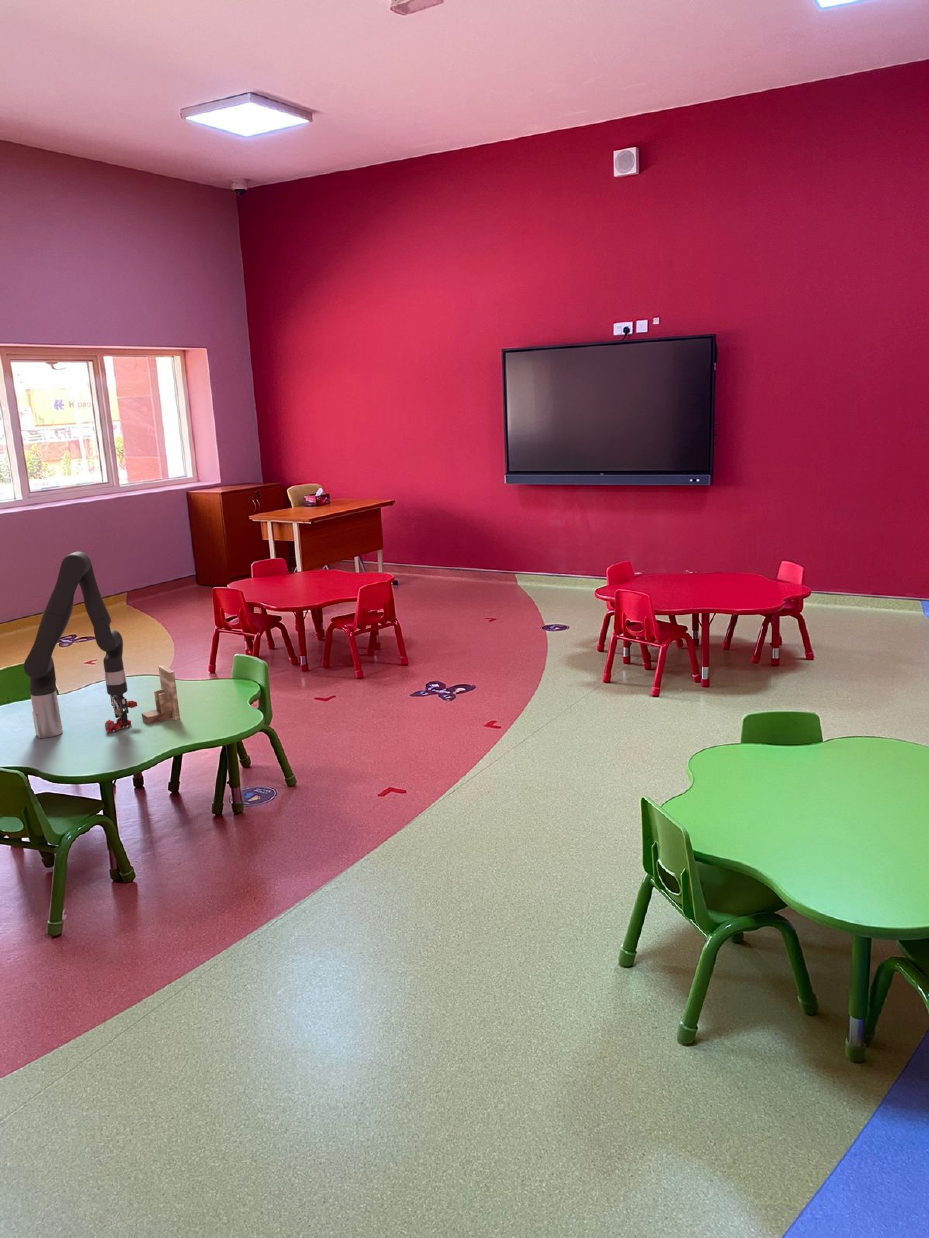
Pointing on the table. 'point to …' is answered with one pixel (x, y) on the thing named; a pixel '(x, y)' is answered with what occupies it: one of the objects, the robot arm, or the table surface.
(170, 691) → the board
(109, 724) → the toy fire truck
